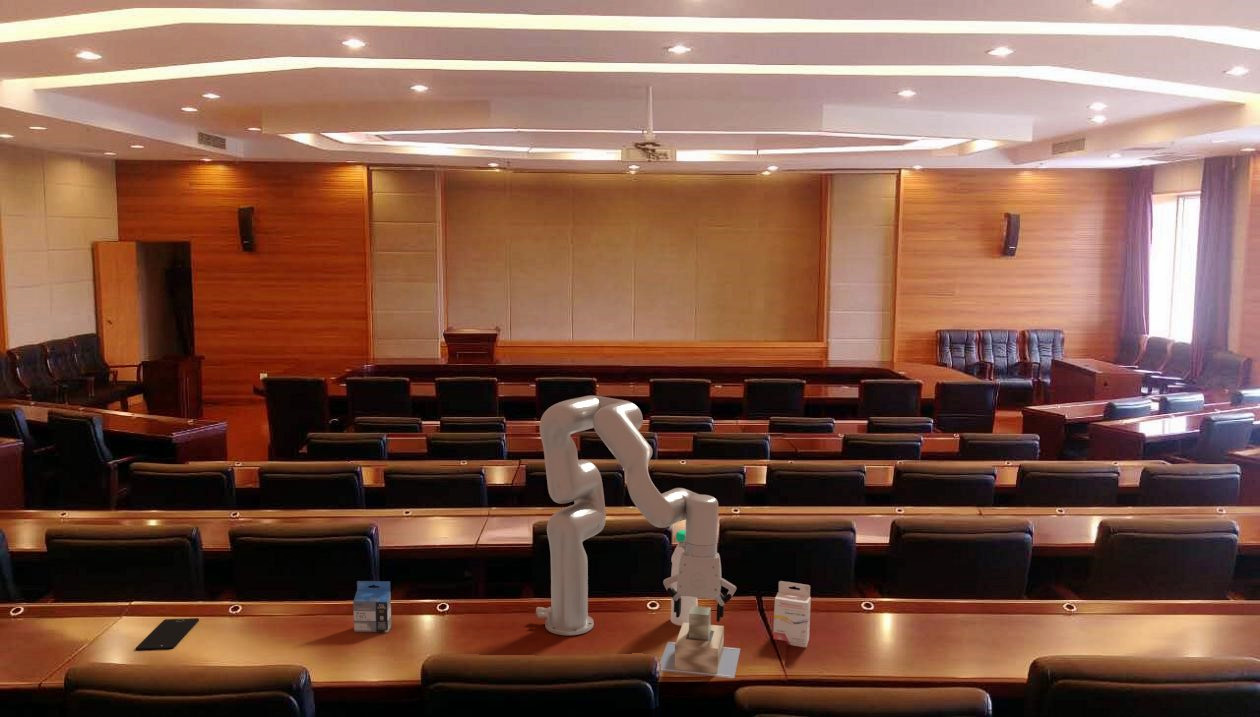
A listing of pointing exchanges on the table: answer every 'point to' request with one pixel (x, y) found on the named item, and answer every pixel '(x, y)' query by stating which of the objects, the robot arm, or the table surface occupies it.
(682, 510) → the robot arm
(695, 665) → the plinth
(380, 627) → the label tape cartridge
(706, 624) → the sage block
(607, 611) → the table surface
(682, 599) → the water bottle
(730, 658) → the board
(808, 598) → the ink cartridge box
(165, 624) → the cell phone
